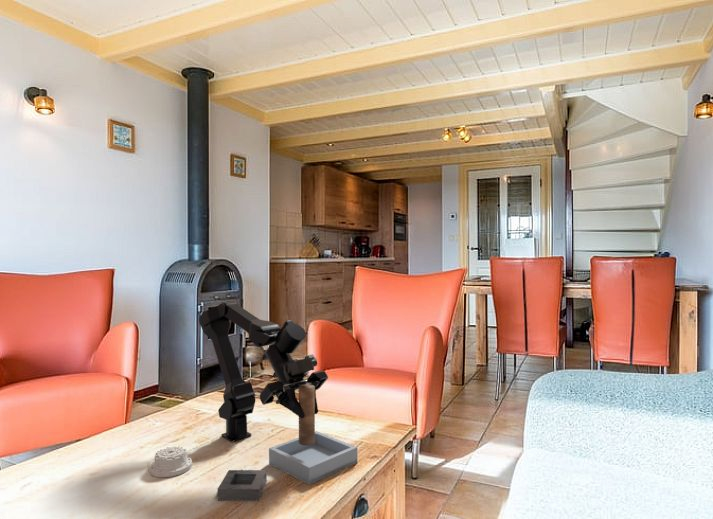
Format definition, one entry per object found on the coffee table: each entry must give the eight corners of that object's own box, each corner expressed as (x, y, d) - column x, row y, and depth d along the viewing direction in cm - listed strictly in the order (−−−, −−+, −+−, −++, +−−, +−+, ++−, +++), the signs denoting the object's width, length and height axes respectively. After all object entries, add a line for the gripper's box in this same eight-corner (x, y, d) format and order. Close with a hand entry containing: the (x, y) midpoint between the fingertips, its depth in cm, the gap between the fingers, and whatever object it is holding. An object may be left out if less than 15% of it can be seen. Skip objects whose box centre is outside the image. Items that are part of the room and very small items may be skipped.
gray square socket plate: (217, 500, 104) (217, 489, 104) (228, 480, 113) (228, 470, 113) (258, 500, 104) (258, 489, 104) (266, 480, 113) (266, 470, 113)
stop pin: (296, 444, 118) (296, 388, 118) (302, 438, 122) (302, 383, 122) (311, 446, 117) (311, 389, 117) (317, 439, 121) (316, 385, 121)
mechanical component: (140, 476, 116) (177, 480, 114) (140, 458, 116) (177, 462, 114) (164, 459, 125) (199, 462, 123) (164, 442, 125) (199, 445, 123)
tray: (269, 463, 122) (268, 448, 122) (316, 445, 133) (316, 431, 133) (309, 484, 111) (309, 467, 111) (357, 462, 122) (357, 447, 122)
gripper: (266, 351, 115) (295, 406, 108) (323, 340, 129) (352, 389, 121) (248, 377, 121) (274, 432, 114) (304, 364, 134) (331, 412, 127)
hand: (310, 415), depth 119 cm, fingers closed on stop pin, 4 cm apart
